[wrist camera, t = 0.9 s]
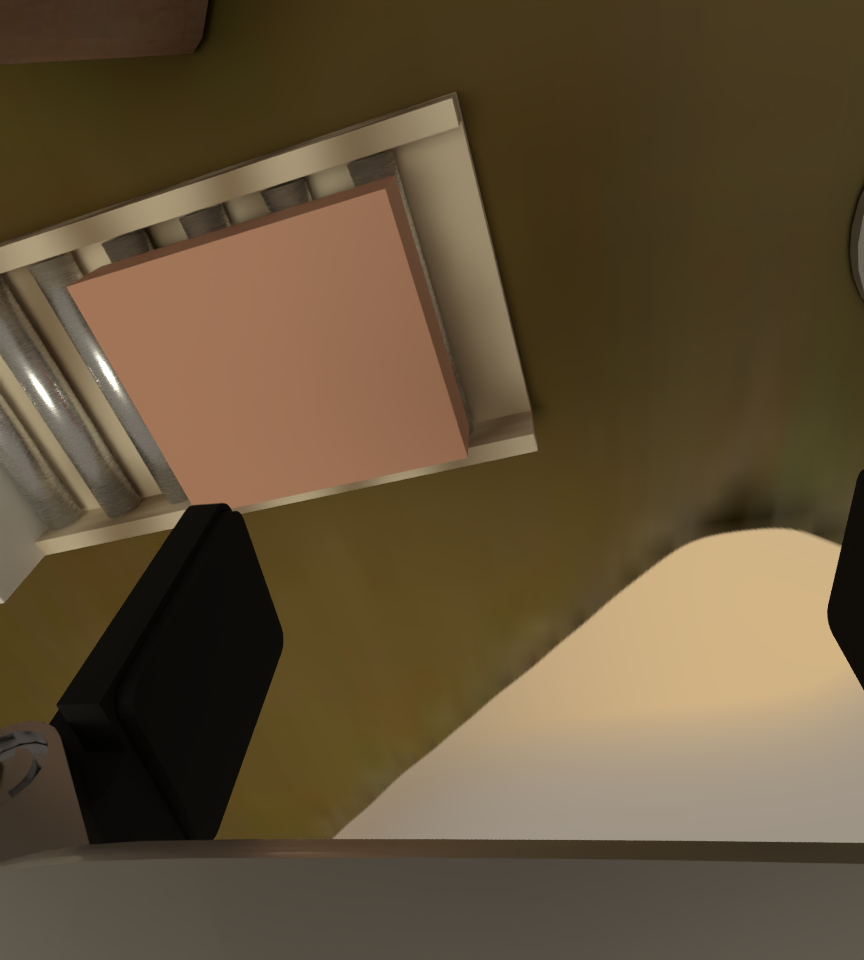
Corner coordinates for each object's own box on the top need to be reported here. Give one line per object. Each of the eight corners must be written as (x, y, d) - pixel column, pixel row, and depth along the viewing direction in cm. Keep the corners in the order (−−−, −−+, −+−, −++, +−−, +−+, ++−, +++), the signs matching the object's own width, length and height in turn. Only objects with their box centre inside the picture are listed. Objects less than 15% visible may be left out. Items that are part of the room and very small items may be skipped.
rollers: (394, 146, 29) (388, 153, 28) (474, 419, 36) (473, 438, 34) (-89, 301, 35) (-119, 315, 33) (60, 513, 42) (42, 533, 40)
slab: (394, 174, 28) (385, 188, 25) (469, 426, 34) (467, 458, 31) (100, 266, 31) (66, 286, 28) (217, 483, 37) (198, 515, 34)
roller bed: (456, 91, 29) (452, 98, 26) (533, 413, 37) (538, 450, 34) (-130, 285, 36) (-193, 311, 33) (43, 523, 44) (6, 563, 41)
